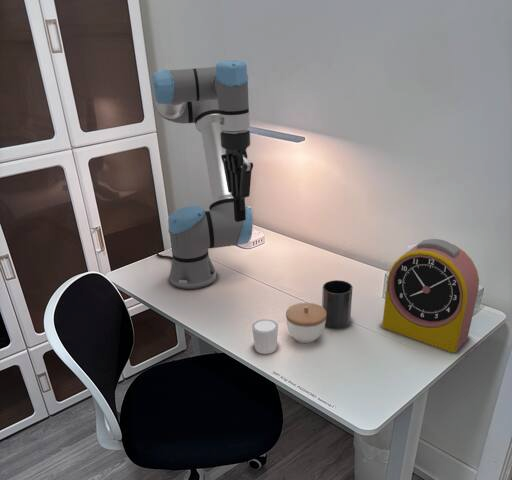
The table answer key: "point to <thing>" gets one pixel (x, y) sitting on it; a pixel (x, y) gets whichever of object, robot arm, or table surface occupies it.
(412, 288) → the alarm clock
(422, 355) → the table surface
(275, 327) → the white cylinder
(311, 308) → the trinket box
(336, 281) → the pen cup
